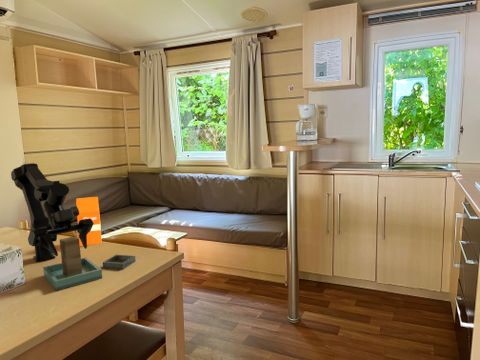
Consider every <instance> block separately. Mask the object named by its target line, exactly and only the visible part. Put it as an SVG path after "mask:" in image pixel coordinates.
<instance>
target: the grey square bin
mask: <svg viewBox="0 0 480 360" xmlns="http://www.w3.org/2000/svg"><path fill="white" fill-rule="evenodd" d="M117 261H118V262H117ZM135 262H136V255H127V254H115V255H113V256H111V257H109V258H107V259H106V260H104V261H102V268H103V269H113V270H114V269H115V270H125V269H126V268H127V267H128V268H129V266H131V265H132V264H133V263H135Z"/></svg>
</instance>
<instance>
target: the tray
mask: <svg viewBox="0 0 480 360" xmlns="http://www.w3.org/2000/svg"><path fill="white" fill-rule="evenodd" d="M81 265H82V274H78V275H74V276H70V277H66V276H65V275H63V269H62V262H60V263H59V262H58V263H55V264H51V265H46V266H43V267H42V269H43V270H42V271H43V276H44V278H45V279H46V280H47V281H48V283H49V284H50V285H51V287H52V288H53V290H54V291H55V292H58V291H61V290H65V289H68V288H73V287H75V286H78V285H79V286H80V285H83V284H87V283H89V282H93V281H97V280H101V279H103V270H102V268H100V267H99V266H98V265H97V264H95V262H94V261H92V260H91V259H90V258H88V257H87V256H85V257H81Z"/></svg>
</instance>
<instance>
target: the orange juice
mask: <svg viewBox="0 0 480 360" xmlns="http://www.w3.org/2000/svg"><path fill="white" fill-rule="evenodd" d="M75 200H76V201H75V203H76V206H77V208H78V209H79V215H78V216H76V218H77V224H78V223H79V220H82V219H88V218H90V219H92V221H93V223H94V224H93V227H92V229H91V231H90V232H89V233H88V234H87V246H90V245H99V244H102V243H103V242H102V229H101V226H102V225H101V216H100V207H99V197H98V196H91V197H79V198H76V199H75ZM78 239H79V243H80V247H83V245H82V242H81V240H80V238H79V237H78Z"/></svg>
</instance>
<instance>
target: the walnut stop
mask: <svg viewBox="0 0 480 360" xmlns="http://www.w3.org/2000/svg"><path fill="white" fill-rule="evenodd" d="M59 246H60V258H61V263H62V269H63V275H65V276H66V277H70V276H74V275H78V274H82V265H81V258H82V256H81V246H80V242H79V237H76V236H70V237H65V238H60V239H59Z"/></svg>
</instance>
